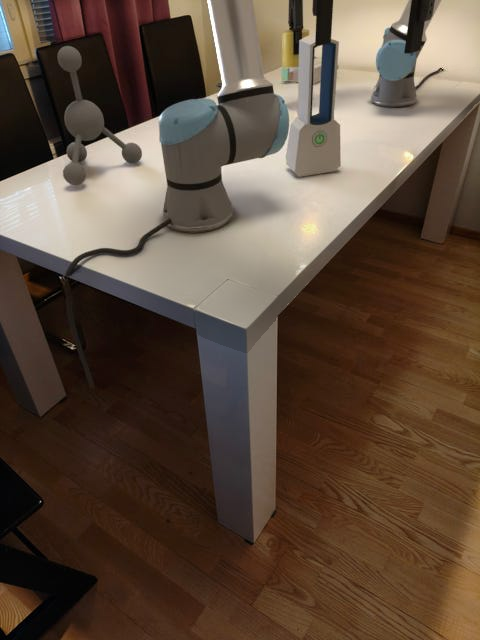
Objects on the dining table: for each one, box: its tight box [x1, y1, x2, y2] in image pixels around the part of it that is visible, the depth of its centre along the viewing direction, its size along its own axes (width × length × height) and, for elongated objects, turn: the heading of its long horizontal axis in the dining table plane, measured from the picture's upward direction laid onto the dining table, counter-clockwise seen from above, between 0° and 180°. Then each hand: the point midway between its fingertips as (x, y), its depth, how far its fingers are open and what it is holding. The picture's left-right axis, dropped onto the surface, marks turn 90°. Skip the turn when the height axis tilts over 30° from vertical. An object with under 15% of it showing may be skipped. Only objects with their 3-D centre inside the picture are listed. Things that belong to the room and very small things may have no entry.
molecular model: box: [57, 45, 143, 186], centre depth 125 cm, size 24×22×30 cm
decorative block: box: [281, 55, 339, 85], centre depth 206 cm, size 26×6×20 cm
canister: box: [281, 28, 310, 68], centre depth 161 cm, size 9×9×10 cm
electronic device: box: [285, 34, 342, 178], centre depth 117 cm, size 12×8×30 cm, turn 105°
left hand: (364, 47), depth 65 cm, fingers open, 13 cm apart
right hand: (295, 51), depth 162 cm, fingers closed on canister, 9 cm apart
